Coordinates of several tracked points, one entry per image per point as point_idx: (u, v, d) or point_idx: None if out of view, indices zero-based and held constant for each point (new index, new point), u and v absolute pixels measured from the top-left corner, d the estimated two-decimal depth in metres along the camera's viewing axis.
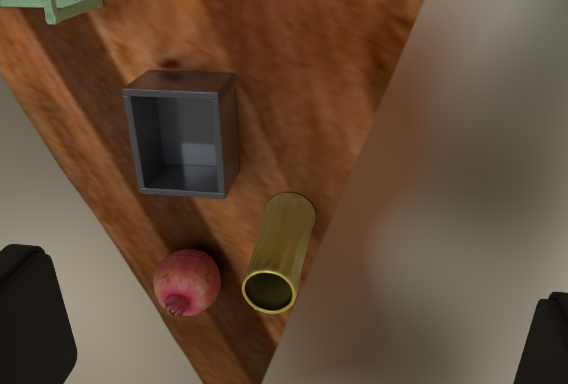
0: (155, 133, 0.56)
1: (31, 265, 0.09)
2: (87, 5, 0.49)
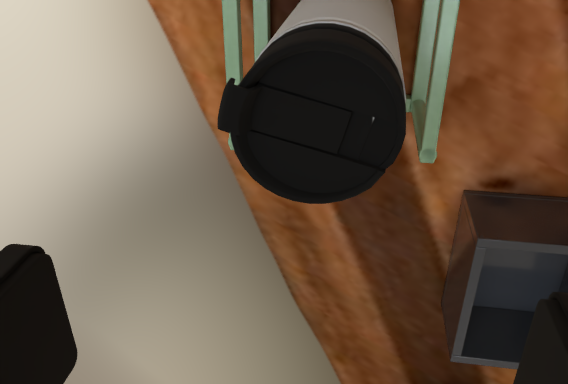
0: None
1: (31, 265, 0.09)
2: None
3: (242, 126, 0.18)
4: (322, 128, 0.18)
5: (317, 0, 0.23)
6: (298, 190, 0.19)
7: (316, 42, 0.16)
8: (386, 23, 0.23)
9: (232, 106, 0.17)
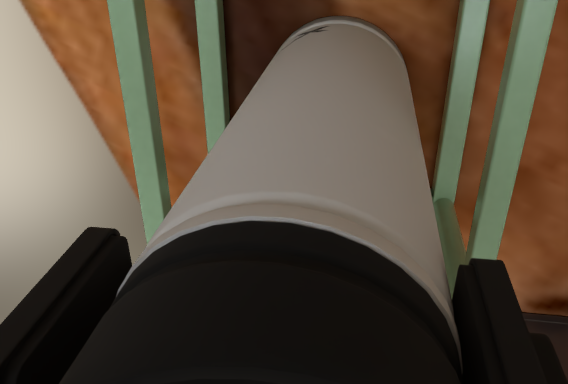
0: None
1: (112, 246, 0.10)
2: None
3: None
4: None
5: (276, 105, 0.12)
6: None
7: (219, 367, 0.05)
8: (407, 149, 0.12)
9: None
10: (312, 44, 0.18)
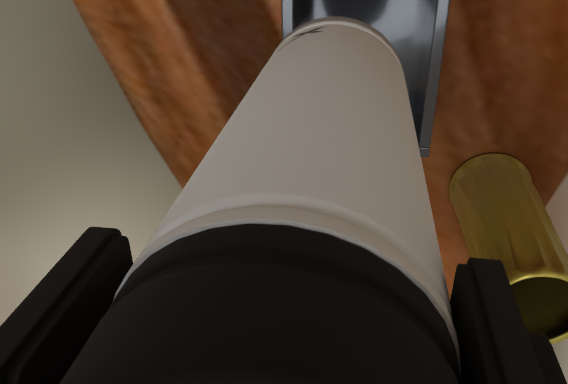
0: None
1: (114, 246, 0.10)
2: None
3: None
4: None
5: (273, 107, 0.12)
6: None
7: (218, 373, 0.05)
8: (404, 150, 0.12)
9: None
10: (308, 45, 0.18)
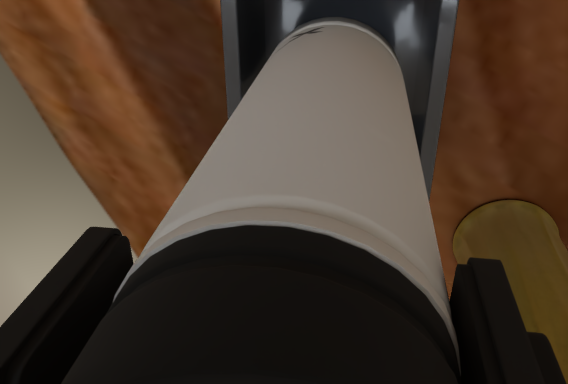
0: None
1: (114, 246, 0.10)
2: None
3: None
4: None
5: (272, 108, 0.12)
6: None
7: (219, 374, 0.05)
8: (403, 151, 0.12)
9: None
10: (307, 45, 0.18)
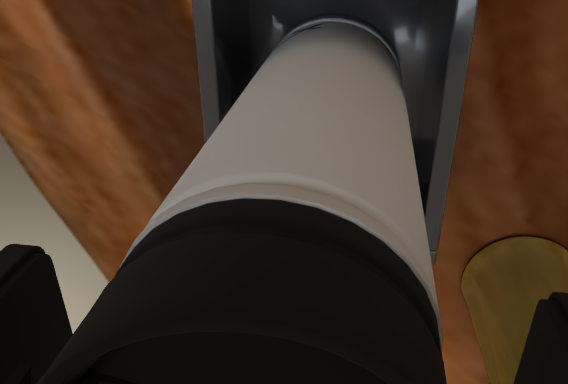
0: None
1: (31, 265, 0.09)
2: None
3: None
4: None
5: (270, 97, 0.13)
6: None
7: (212, 320, 0.06)
8: (395, 138, 0.13)
9: None
10: (307, 40, 0.18)
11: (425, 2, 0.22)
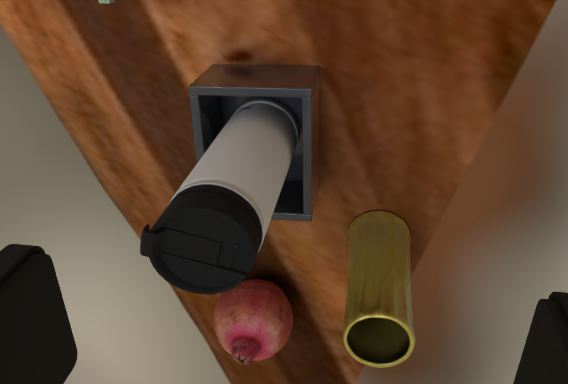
0: None
1: (31, 265, 0.09)
2: None
3: (155, 252, 0.29)
4: (205, 251, 0.30)
5: (218, 149, 0.35)
6: (196, 285, 0.31)
7: (192, 208, 0.28)
8: (264, 164, 0.35)
9: (147, 242, 0.29)
10: (242, 117, 0.40)
11: None
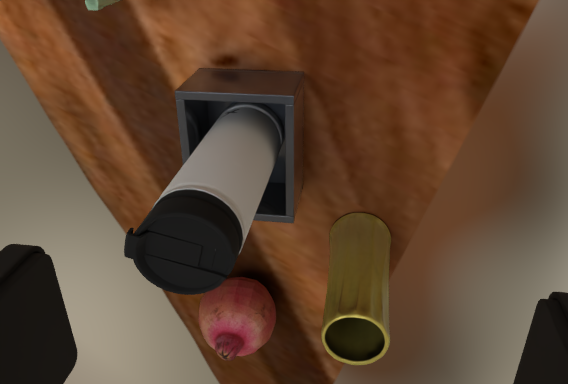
0: None
1: (31, 265, 0.09)
2: None
3: (138, 254, 0.31)
4: (186, 254, 0.31)
5: (202, 154, 0.36)
6: (178, 286, 0.32)
7: (174, 213, 0.29)
8: (246, 169, 0.36)
9: (131, 245, 0.30)
10: (227, 121, 0.41)
11: None
